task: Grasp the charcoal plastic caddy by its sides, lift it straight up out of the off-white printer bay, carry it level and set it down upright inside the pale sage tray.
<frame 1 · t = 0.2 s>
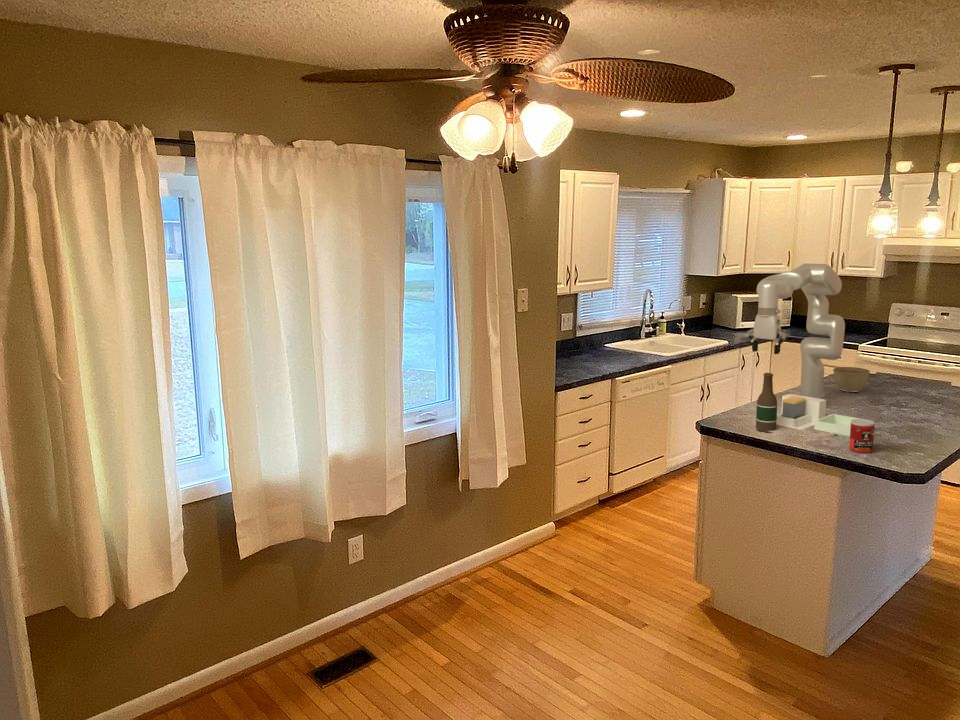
hand: (765, 352, 288), 30 cm above the countertop, tool pointing down, fingers open, 9 cm apart
tray: (840, 431, 278), on the countertop
planter bowl: (849, 391, 345), on the countertop
canned food: (860, 450, 253), on the countertop
beer bottle: (765, 431, 282), on the countertop
printer bay: (794, 423, 290), on the countertop
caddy: (793, 421, 289), point 1 cm above the countertop, touching printer bay
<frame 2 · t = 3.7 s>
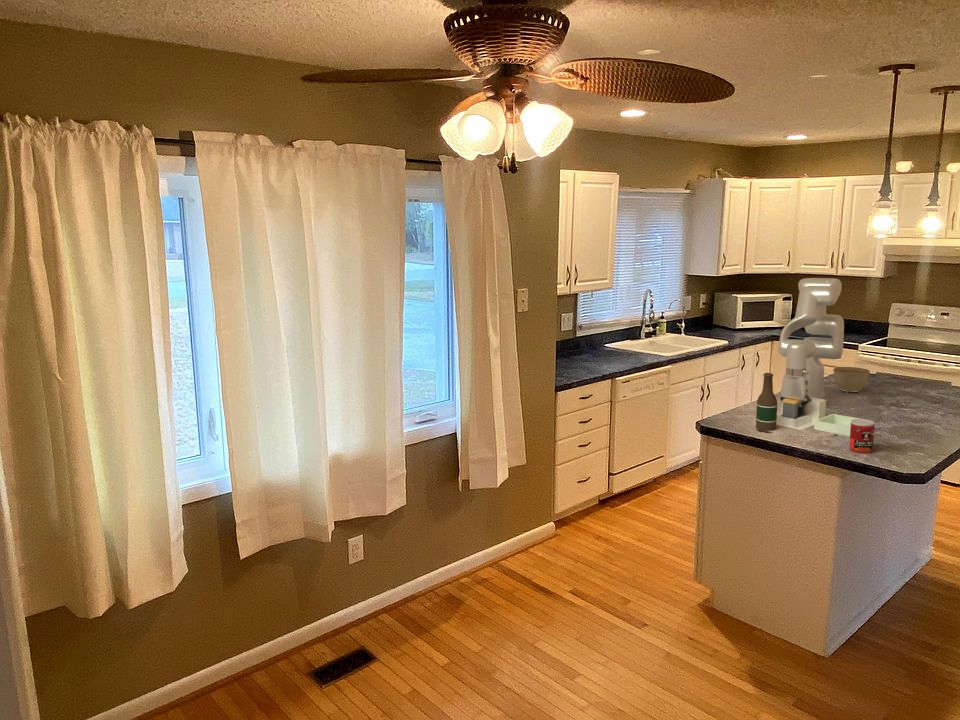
hand: (793, 414, 289), 4 cm above the countertop, tool pointing down, fingers closed on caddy, 5 cm apart
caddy: (793, 421, 289), point 1 cm above the countertop, touching gripper, printer bay
everything else where it was.
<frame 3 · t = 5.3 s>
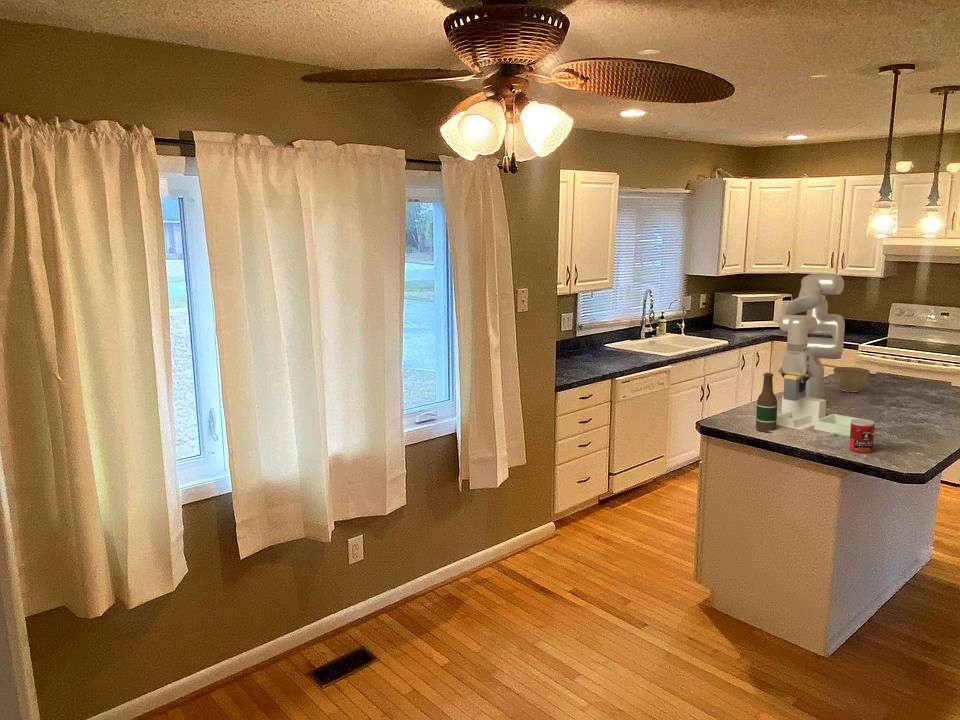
hand: (794, 390, 287), 15 cm above the countertop, tool pointing down, fingers closed on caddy, 5 cm apart
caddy: (794, 397, 288), point 11 cm above the countertop, touching gripper
everything else where it was.
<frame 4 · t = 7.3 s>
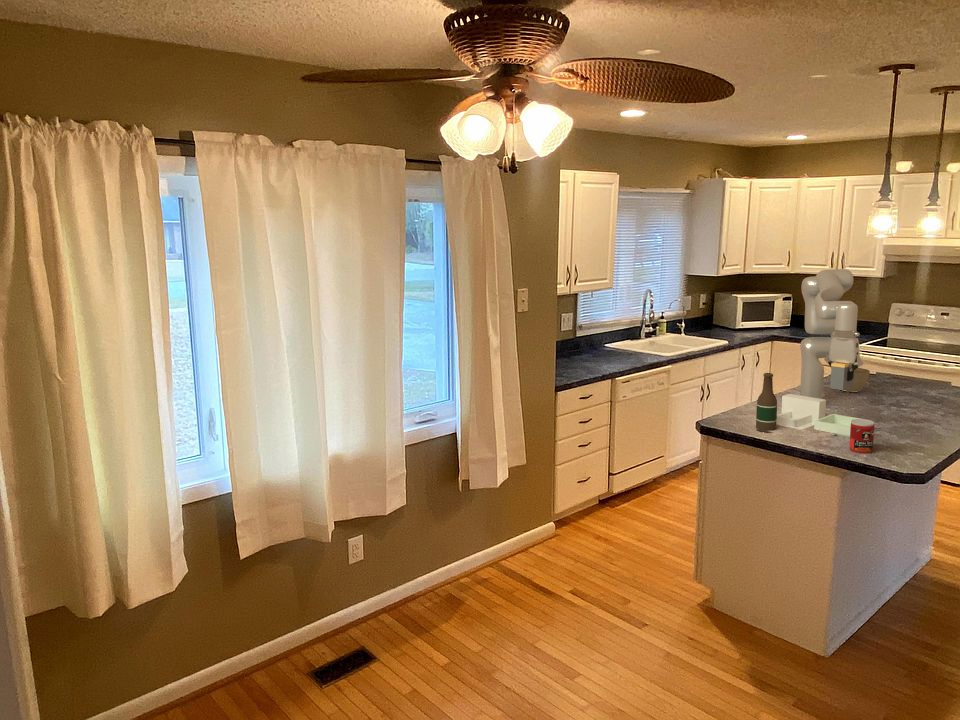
hand: (842, 379, 274), 22 cm above the countertop, tool pointing down, fingers closed on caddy, 5 cm apart
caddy: (841, 387, 275), point 18 cm above the countertop, touching gripper
everything else where it was.
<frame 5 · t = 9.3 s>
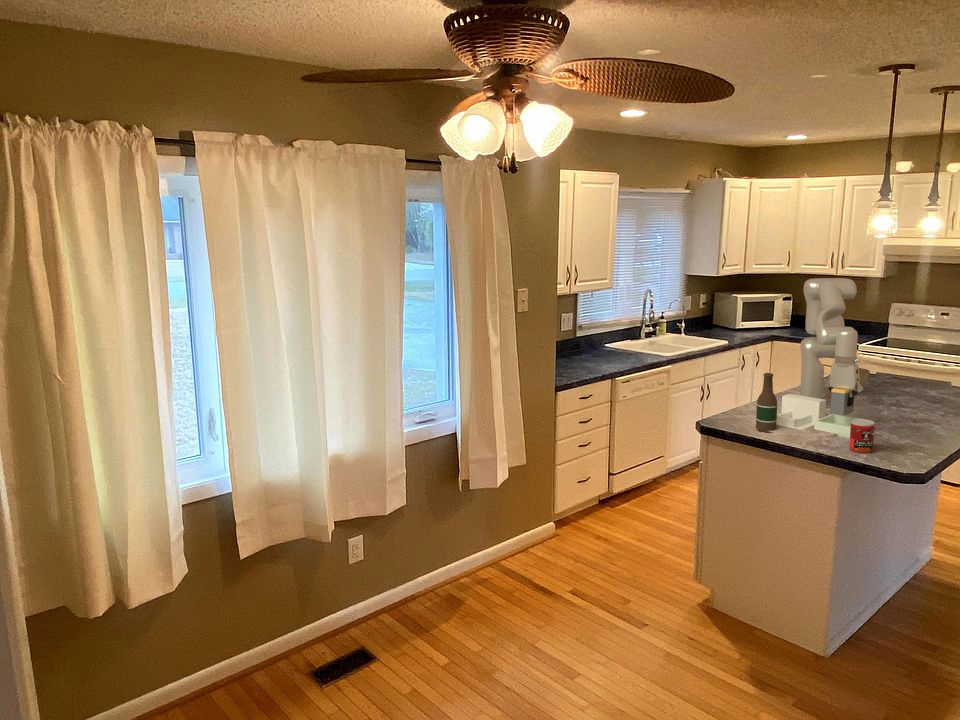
hand: (842, 404, 276), 11 cm above the countertop, tool pointing down, fingers closed on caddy, 5 cm apart
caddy: (841, 412, 276), point 8 cm above the countertop, touching gripper
everything else where it was.
when the fingers open (6 cm above the countertop, at t = 11.2 s): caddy drops 1 cm, resting on tray.
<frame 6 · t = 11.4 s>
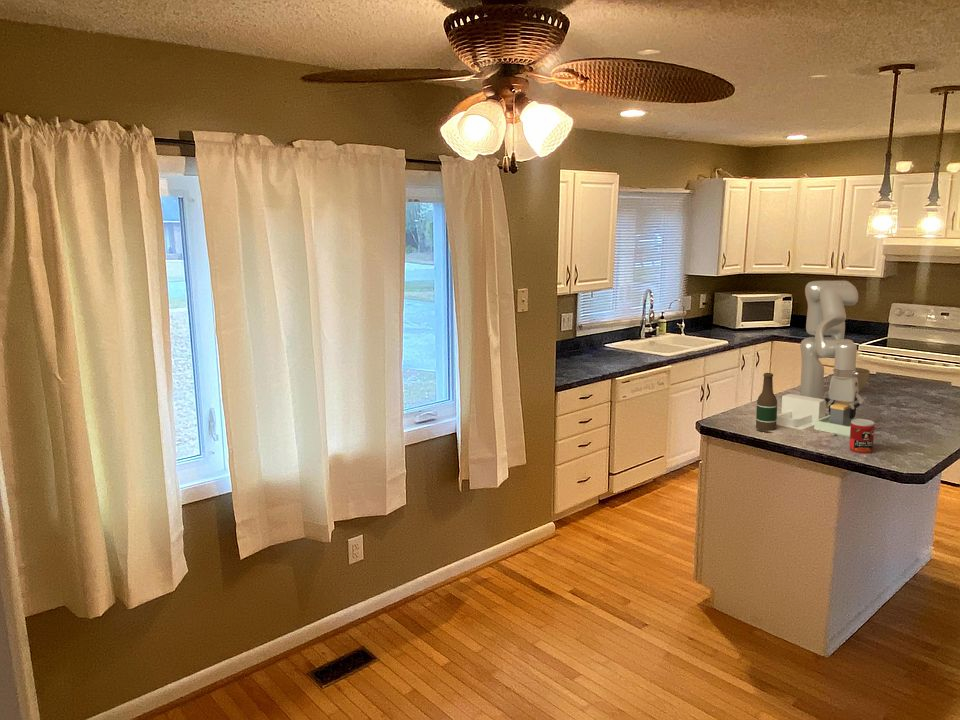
hand: (841, 416, 277), 6 cm above the countertop, tool pointing down, fingers open, 7 cm apart
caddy: (840, 428, 278), point 1 cm above the countertop, touching tray
everything else where it was.
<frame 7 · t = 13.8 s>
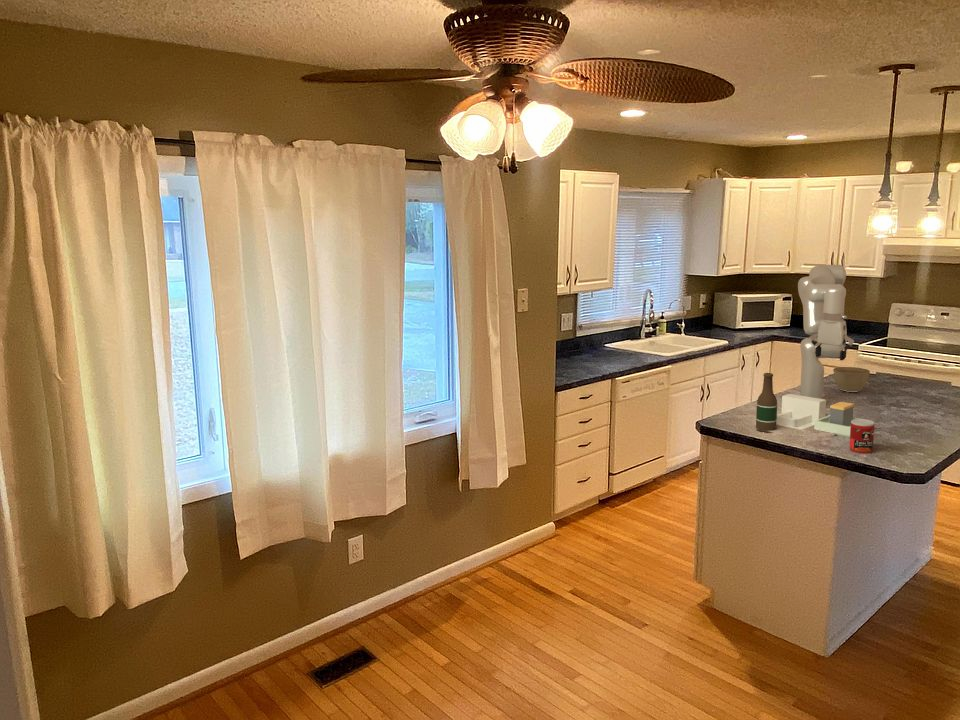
hand: (830, 358, 283), 28 cm above the countertop, tool pointing down, fingers open, 9 cm apart
nothing on the countertop moved.
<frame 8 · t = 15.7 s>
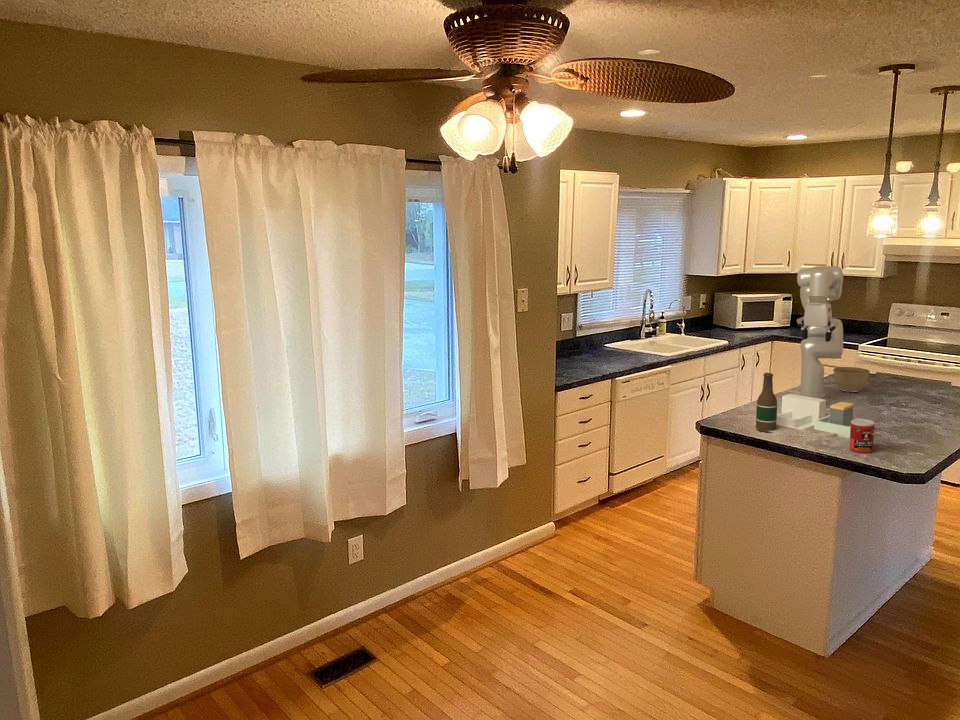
hand: (816, 340, 292), 34 cm above the countertop, tool pointing down, fingers open, 9 cm apart
nothing on the countertop moved.
at the end: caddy inside the target area on the tray (0.0 cm from its centre), point 1.0 cm above the tray's base; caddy tilted 0°; the gripper is holding nothing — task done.
